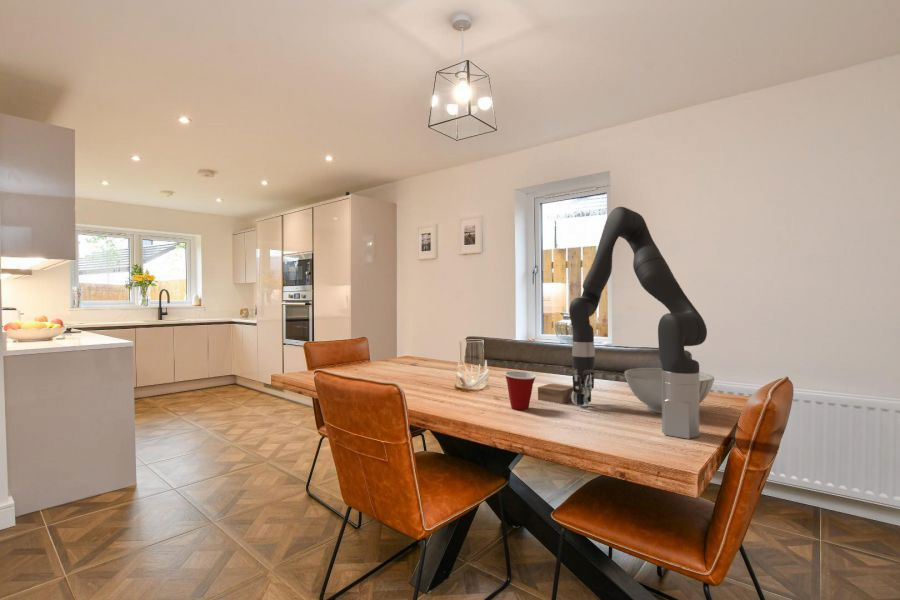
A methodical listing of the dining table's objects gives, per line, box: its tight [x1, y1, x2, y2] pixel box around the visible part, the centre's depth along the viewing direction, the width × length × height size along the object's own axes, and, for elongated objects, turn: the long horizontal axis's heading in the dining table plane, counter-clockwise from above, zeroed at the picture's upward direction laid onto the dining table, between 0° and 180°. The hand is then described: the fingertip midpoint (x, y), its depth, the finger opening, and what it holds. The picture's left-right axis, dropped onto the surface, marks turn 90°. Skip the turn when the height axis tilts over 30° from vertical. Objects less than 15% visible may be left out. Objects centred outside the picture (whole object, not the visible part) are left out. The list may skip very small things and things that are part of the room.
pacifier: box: [571, 387, 590, 407], centre depth 156 cm, size 7×6×6 cm
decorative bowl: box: [624, 367, 715, 414], centre depth 150 cm, size 27×27×12 cm
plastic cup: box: [504, 370, 537, 411], centre depth 153 cm, size 11×11×12 cm
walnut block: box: [537, 382, 576, 405], centre depth 166 cm, size 10×10×5 cm
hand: (584, 403), depth 157 cm, fingers closed on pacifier, 6 cm apart
